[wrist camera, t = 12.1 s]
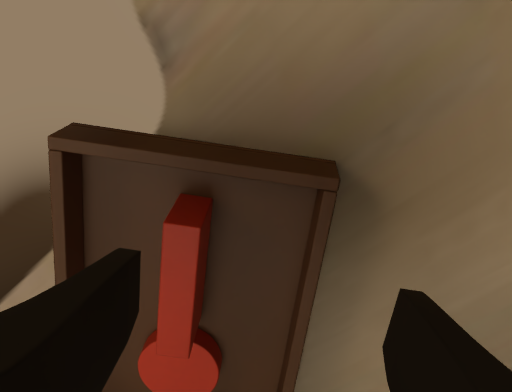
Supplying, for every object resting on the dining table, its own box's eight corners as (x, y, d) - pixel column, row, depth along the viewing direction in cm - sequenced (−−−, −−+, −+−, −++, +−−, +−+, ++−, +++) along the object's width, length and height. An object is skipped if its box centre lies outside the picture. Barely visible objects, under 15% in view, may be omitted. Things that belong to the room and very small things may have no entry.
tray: (278, 427, 27) (277, 464, 25) (80, 397, 27) (62, 431, 25) (335, 160, 21) (340, 179, 18) (72, 122, 21) (46, 135, 19)
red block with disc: (150, 188, 21) (128, 217, 18) (242, 201, 21) (235, 233, 18) (142, 379, 26) (123, 426, 23) (217, 390, 26) (209, 439, 23)
